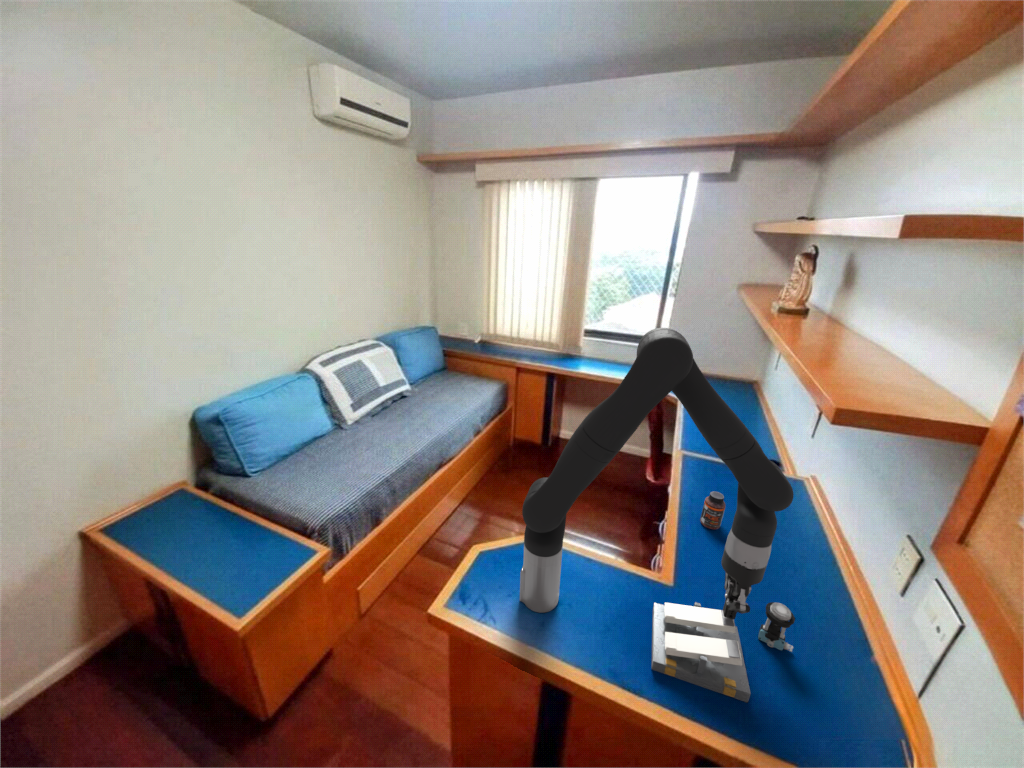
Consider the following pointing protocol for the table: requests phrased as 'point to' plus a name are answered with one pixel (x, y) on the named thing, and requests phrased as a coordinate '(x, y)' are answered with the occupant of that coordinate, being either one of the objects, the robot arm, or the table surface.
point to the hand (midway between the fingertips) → (728, 615)
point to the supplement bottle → (713, 510)
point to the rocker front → (703, 648)
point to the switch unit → (698, 670)
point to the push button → (776, 626)
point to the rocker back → (698, 617)
